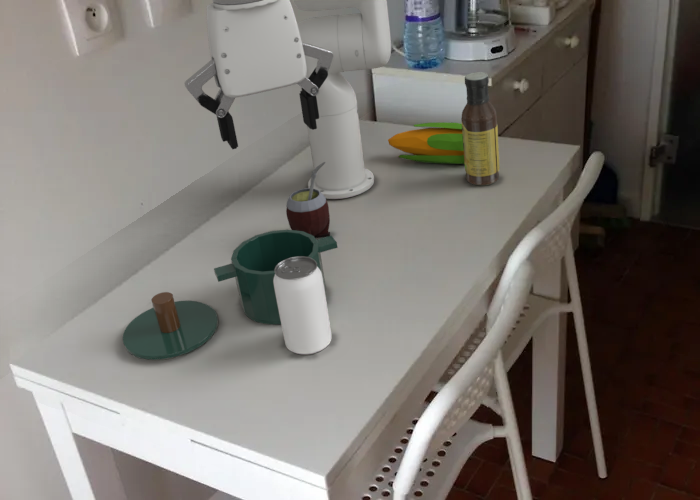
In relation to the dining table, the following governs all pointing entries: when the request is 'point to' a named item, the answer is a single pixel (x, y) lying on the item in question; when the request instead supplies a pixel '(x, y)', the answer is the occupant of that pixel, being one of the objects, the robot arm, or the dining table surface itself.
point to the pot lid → (170, 328)
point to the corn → (432, 143)
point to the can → (302, 305)
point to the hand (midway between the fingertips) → (272, 135)
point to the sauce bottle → (480, 132)
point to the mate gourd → (309, 210)
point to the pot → (268, 268)
